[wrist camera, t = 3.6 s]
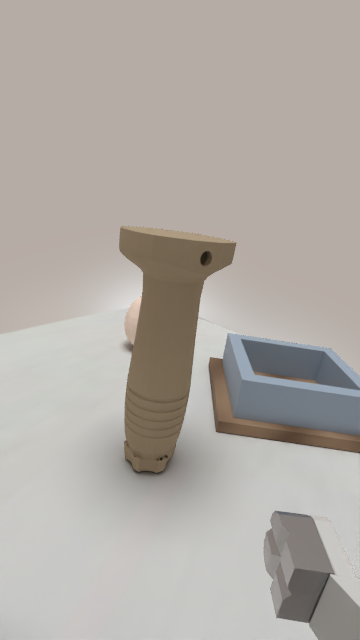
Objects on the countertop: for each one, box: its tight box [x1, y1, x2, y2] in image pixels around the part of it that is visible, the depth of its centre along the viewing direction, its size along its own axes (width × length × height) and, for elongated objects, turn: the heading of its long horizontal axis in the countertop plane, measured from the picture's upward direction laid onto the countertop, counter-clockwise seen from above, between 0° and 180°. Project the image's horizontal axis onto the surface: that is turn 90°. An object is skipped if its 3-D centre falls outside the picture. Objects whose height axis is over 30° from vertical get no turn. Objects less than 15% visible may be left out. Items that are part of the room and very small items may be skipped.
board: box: [209, 357, 360, 452], centre depth 32 cm, size 14×12×1 cm
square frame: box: [222, 333, 360, 436], centre depth 31 cm, size 11×10×4 cm
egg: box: [125, 296, 142, 346], centre depth 38 cm, size 5×5×7 cm
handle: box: [119, 226, 236, 473], centre depth 20 cm, size 5×6×15 cm
